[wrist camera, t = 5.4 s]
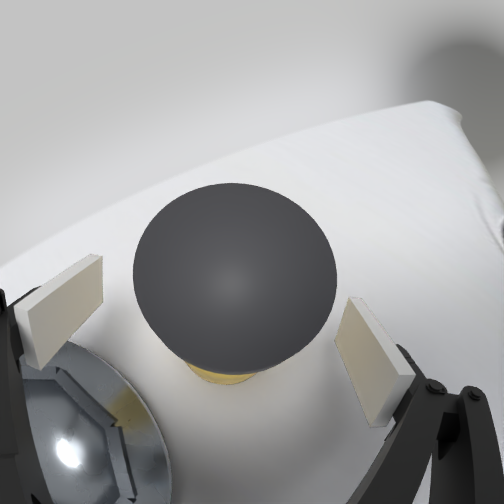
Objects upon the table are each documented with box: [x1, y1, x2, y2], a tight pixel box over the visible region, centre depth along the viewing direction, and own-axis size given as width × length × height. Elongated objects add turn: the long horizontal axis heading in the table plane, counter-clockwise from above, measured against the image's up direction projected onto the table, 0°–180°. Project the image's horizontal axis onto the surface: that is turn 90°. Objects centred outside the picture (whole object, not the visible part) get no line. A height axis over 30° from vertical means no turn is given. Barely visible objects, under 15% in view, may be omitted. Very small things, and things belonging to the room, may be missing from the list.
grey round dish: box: [19, 341, 172, 504], centre depth 13 cm, size 16×16×4 cm
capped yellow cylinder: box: [133, 183, 337, 385], centre depth 15 cm, size 6×6×12 cm
